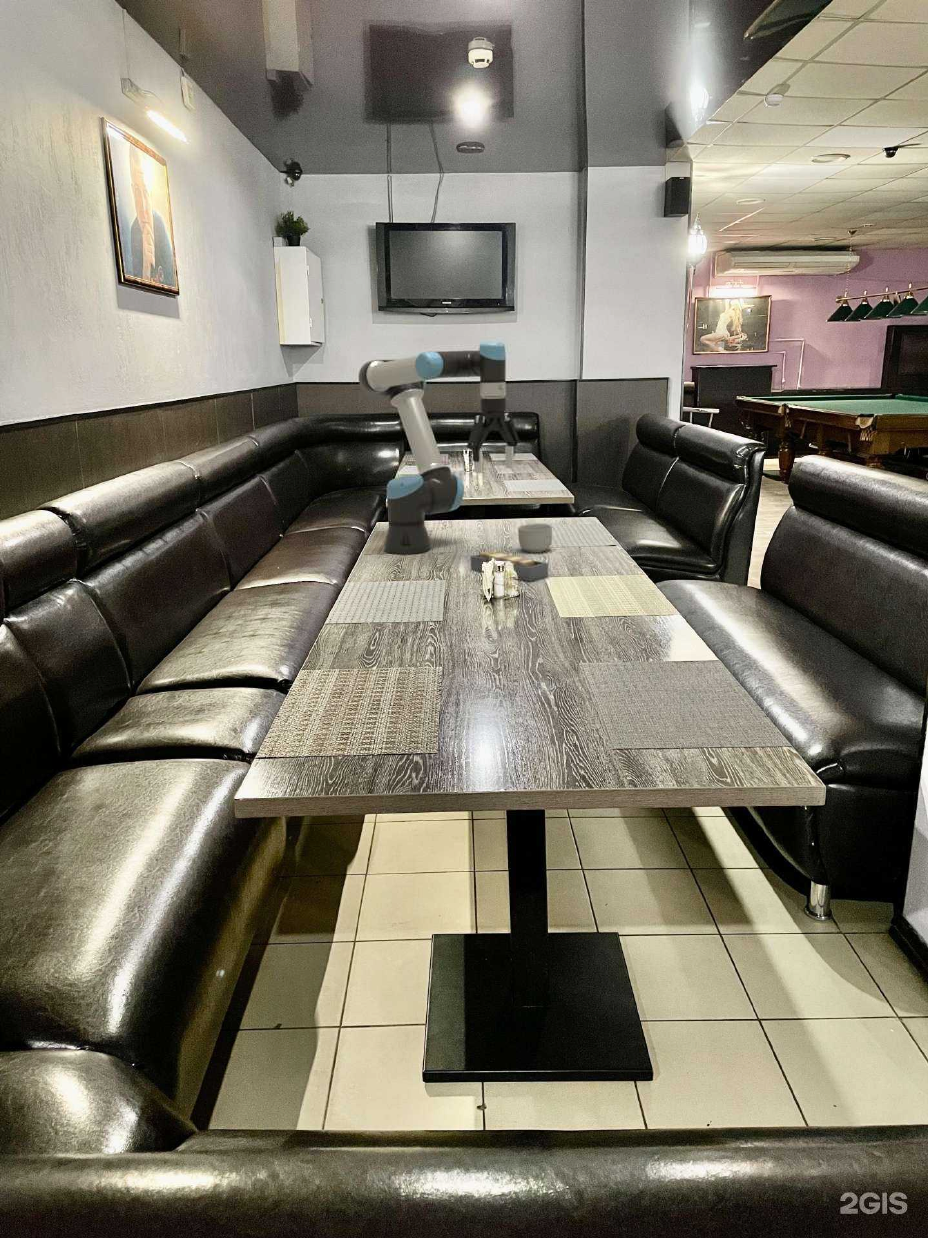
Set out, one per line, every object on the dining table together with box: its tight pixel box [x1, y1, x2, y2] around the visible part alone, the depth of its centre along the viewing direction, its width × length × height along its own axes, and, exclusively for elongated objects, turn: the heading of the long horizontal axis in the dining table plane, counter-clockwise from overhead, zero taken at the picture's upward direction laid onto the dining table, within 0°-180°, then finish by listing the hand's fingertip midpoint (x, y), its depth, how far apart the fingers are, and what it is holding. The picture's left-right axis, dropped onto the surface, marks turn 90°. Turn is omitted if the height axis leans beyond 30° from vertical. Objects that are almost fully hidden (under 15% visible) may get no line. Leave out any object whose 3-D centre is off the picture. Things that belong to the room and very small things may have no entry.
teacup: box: [517, 522, 553, 554], centre depth 279 cm, size 14×11×8 cm
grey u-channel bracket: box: [470, 553, 488, 573], centre depth 255 cm, size 6×8×4 cm
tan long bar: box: [479, 551, 535, 567], centre depth 250 cm, size 18×4×5 cm, turn 41°
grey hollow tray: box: [514, 560, 549, 583], centre depth 243 cm, size 6×8×4 cm
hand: (494, 470), depth 263 cm, fingers open, 13 cm apart
